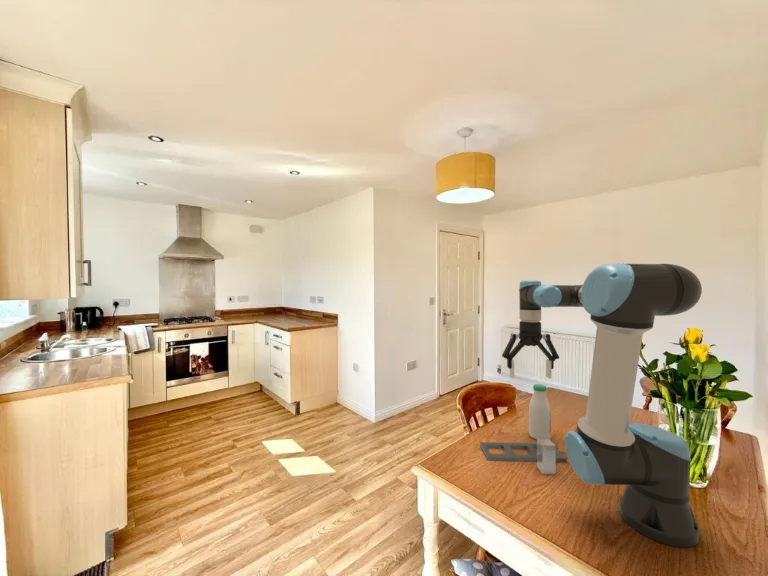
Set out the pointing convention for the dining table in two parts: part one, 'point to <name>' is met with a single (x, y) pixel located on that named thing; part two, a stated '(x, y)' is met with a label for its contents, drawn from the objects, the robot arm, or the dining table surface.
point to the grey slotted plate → (511, 455)
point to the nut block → (546, 456)
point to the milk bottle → (539, 414)
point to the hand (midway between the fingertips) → (530, 377)
